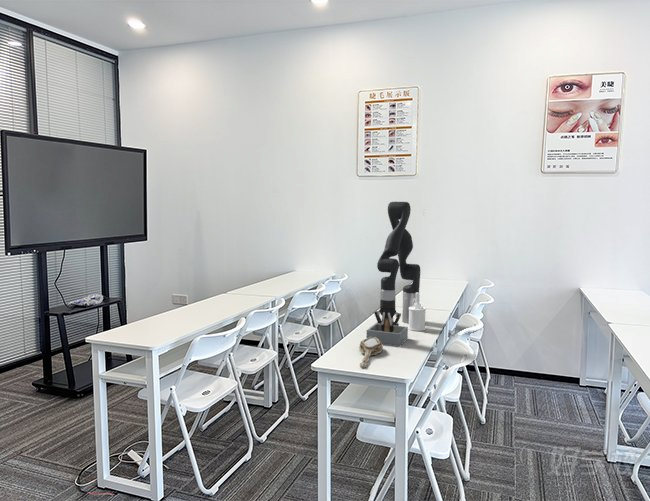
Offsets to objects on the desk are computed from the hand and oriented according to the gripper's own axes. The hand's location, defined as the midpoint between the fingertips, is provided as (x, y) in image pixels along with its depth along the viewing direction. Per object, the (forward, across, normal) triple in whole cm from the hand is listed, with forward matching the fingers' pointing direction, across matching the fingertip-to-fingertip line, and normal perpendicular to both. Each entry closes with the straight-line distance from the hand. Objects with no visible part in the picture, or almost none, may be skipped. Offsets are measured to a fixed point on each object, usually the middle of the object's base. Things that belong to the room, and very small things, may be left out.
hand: (387, 332), depth 241 cm
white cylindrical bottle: (+4, -8, -27) cm, 29 cm away
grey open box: (+4, 0, 0) cm, 4 cm away
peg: (+3, 0, 0) cm, 3 cm away
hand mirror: (+5, 0, +28) cm, 28 cm away
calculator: (+5, +6, -17) cm, 19 cm away
